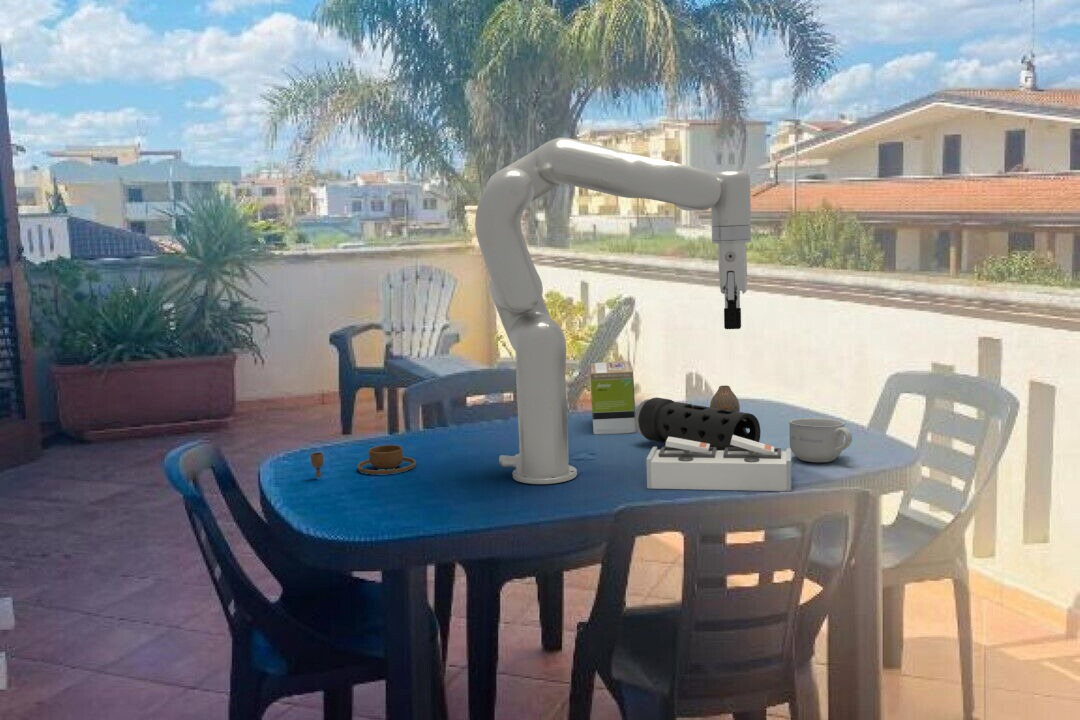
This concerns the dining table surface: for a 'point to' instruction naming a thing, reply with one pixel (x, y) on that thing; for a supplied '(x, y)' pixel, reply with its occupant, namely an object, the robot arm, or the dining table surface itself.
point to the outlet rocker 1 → (687, 445)
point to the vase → (725, 399)
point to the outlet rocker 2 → (752, 445)
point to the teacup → (818, 438)
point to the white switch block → (719, 469)
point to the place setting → (375, 460)
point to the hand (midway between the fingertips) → (732, 328)
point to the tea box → (612, 398)
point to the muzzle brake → (693, 423)
